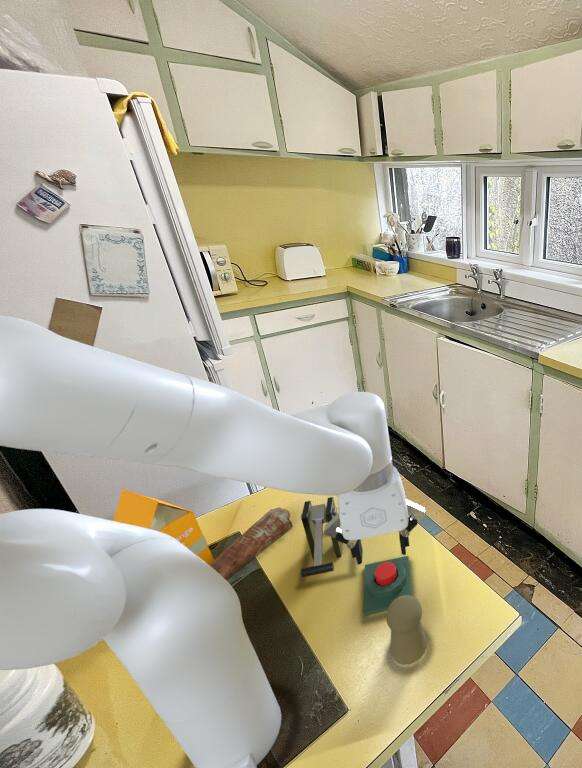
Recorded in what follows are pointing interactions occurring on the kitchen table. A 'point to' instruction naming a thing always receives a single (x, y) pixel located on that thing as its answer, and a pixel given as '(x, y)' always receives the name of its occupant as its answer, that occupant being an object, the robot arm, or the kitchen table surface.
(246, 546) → the salami
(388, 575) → the button
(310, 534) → the bracket
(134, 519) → the orange juice
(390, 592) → the button box
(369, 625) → the kitchen table surface
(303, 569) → the lever
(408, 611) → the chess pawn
